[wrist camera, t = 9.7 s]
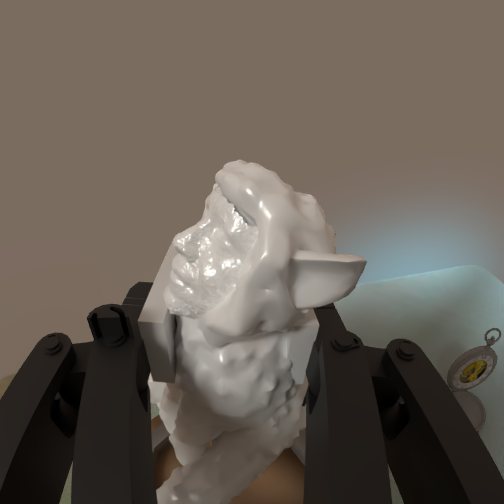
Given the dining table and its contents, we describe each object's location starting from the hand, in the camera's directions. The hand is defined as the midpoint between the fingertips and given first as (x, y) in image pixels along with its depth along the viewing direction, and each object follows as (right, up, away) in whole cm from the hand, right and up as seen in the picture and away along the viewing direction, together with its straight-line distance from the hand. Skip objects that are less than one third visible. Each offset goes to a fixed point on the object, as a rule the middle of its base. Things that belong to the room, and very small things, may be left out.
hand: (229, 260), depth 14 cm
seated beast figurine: (0, -8, -2) cm, 9 cm away
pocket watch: (+25, -18, +8) cm, 32 cm away
